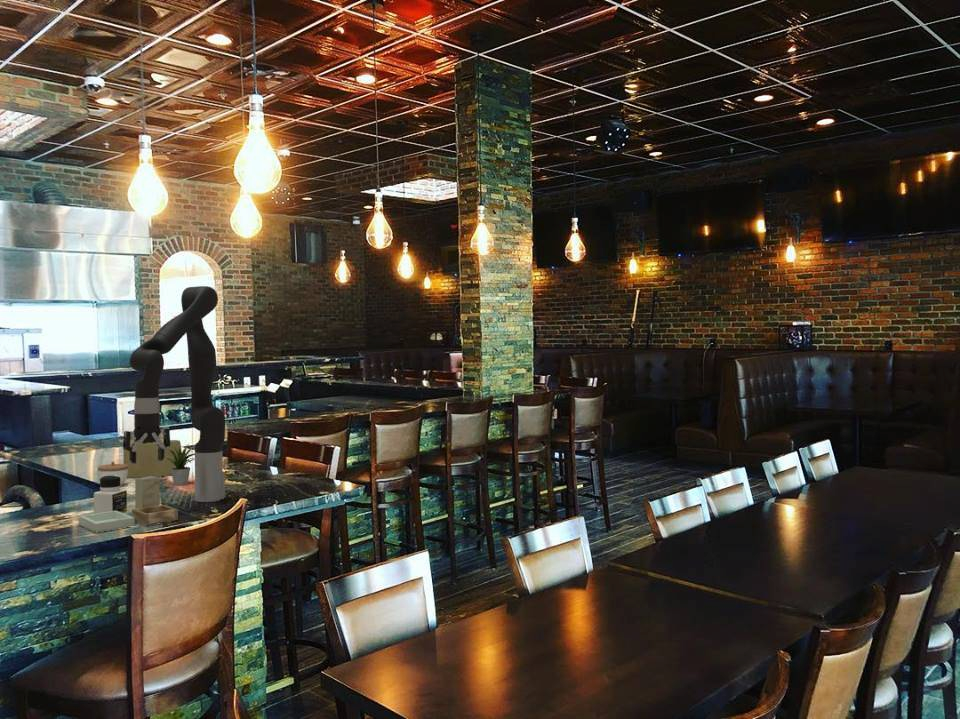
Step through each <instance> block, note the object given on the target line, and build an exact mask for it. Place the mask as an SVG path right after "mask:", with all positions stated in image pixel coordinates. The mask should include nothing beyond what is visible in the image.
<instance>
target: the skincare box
mask: <svg viewBox="0 0 960 719" xmlns="http://www.w3.org/2000/svg"><path fill="white" fill-rule="evenodd" d="M160 478H161V477H155V476H149V477H141V478H134V484H135V486H134V488H135V489H134V490H135V491H134V492H135V493H134V494H135V496H134V503H135V505H134V509H139V508H146V507H152V506H159V505H161V503H160V499H161V498H160V485H161V484H160V480H161V479H160Z"/></svg>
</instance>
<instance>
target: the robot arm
mask: <svg viewBox="0 0 960 719" xmlns="http://www.w3.org/2000/svg"><path fill="white" fill-rule="evenodd" d="M180 301H181V302H180V303H181V310H182V312H181V313H180V314H178V315H176V316H175V317H173V318H172V319H169V320H168V321H167V322H166V323H164V324H163V325H162V326H161V327H160V328H159V329H158V330H157V332H155V334H153V336H152V337H151V338H150V339H148V340H146V341H145V342H143V343H142V344H140V345H139V346H138V347H137V348H136V349H135V350H133V352H132V353H131V355H130V357H129V364H130V368H132V369H133V370H134V371H136V372H144V374H143V377H142V378H140V379H137V380H136V382H135V384H134V404H133V405H134V406H133V407H134V408H133V413H134V414H133V415H134V416H133V417H134V418H133V420H134V422H133V425H134V429H133V431H130V430H124V431H123V442H122V449H124V450H128V451H129V452H130V462H131V463H133V464H135V463H136V452H135V451H136V449H137V448H138V447H139V446H140V445H141V443H143V444H145V443H153V442H154V443H155V444H156V445H157V446H158V448H159V449H158V460H160V461H162V460H163V459H164V449H165V448H166V447H168V446H170V440H171V431H170V428H168V427H163V428H161V427H160V425H161V424H160V423H161V422H160V420H161V419H160V417H161V416H160V415H161V406H160V396H159V394H160V391H159V390H160V389H159V388H160V387H159V386H160V382H161V379H162V374H163V370H164V366H165V359H164V356H163V355H165V354H168V353H170V352H171V351H172V349H174V347H175V346H176V345H177V344H178V342H179V341H180V340H181V339H182V338H183V337H184V336H185V335H186V342H187V343H186V344H187V360H188V370H189V381H190V382H189V383H190V392H191V393H190V395H191V396H190V397H191V398H190V422H191V424H192V427H193V428H194V429H196V430H197V431H199V439H198V442H196V443H195V444H194V450H195V451H194V453H195V455H194V502H197V503H198V502H199V503H214V502H218V501H221V499H222V500H225V499H226V473H225V471H223V447H224V443H225V439H226V436H225V435H226V433H225V432H226V418H225V414H224V413H225V412H224V411H223V410H222V408H220V407H218V406H215V405H214V406H213V399H212V398H213V397H212V389H213V385H214V384H213V383H214V380H215V377H216V372H217V367H218V366H217V353H216V348H215V345H214V343H213V341H212V340H211V339H210V338H211V337H210V336H209V335H208V333H207V332H206V330H205V327H204V323H203V319H204V318H205V317H206V316H207V315H209V314H210V313H212V311H214V310H215V308H217V305H218V302H219V296H218V293H217V291H216V290H215V289H214V288H213V287H212V286H207V285H202V286H201V285H199V286H190V287H189V286H188V287H186V288H185V289H183V291H182V293H181V299H180ZM160 435H162V438H163V439H160V438H159V436H160ZM133 436H134V439H133V440H134V441H133V443H132V445H131V446H130V441H131V438H133ZM162 441H163V442H164V443H162ZM224 498H225V499H224Z"/></svg>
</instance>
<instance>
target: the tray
mask: <svg viewBox="0 0 960 719" xmlns="http://www.w3.org/2000/svg"><path fill="white" fill-rule="evenodd" d="M79 525H81V526H83V527H82V528H84V527H85V528H84V529H86V528H87V529H86V530H88V529H89V530H88V531H90V530H91V531H90V532H92V531H93V533H94V532H95V534H99V533H98V532H101V533H105V532H104V531H107V532H111V531H110V530H113V531H116V530H115V529H119V528H124V527H129V526H135V522H134V517H132V515H128V514H125V513H124V512H119V511H109V512H103V513H96V514H94V513H92V514H85V515H78V526H79ZM81 526H80V527H81ZM119 530H120V529H119Z"/></svg>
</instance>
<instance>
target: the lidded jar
mask: <svg viewBox="0 0 960 719" xmlns="http://www.w3.org/2000/svg"><path fill="white" fill-rule="evenodd" d="M110 475H116V476H119V477H120V482H121V487H122V486H123V484H124V483H125V482H126V481H127V479H128V478H127V475H128V465H127V464H124V463H115V461H111V464H109V463H108V464H103V465H98V466H97V477H98V481H100V478H102V477H104V476H110Z"/></svg>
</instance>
